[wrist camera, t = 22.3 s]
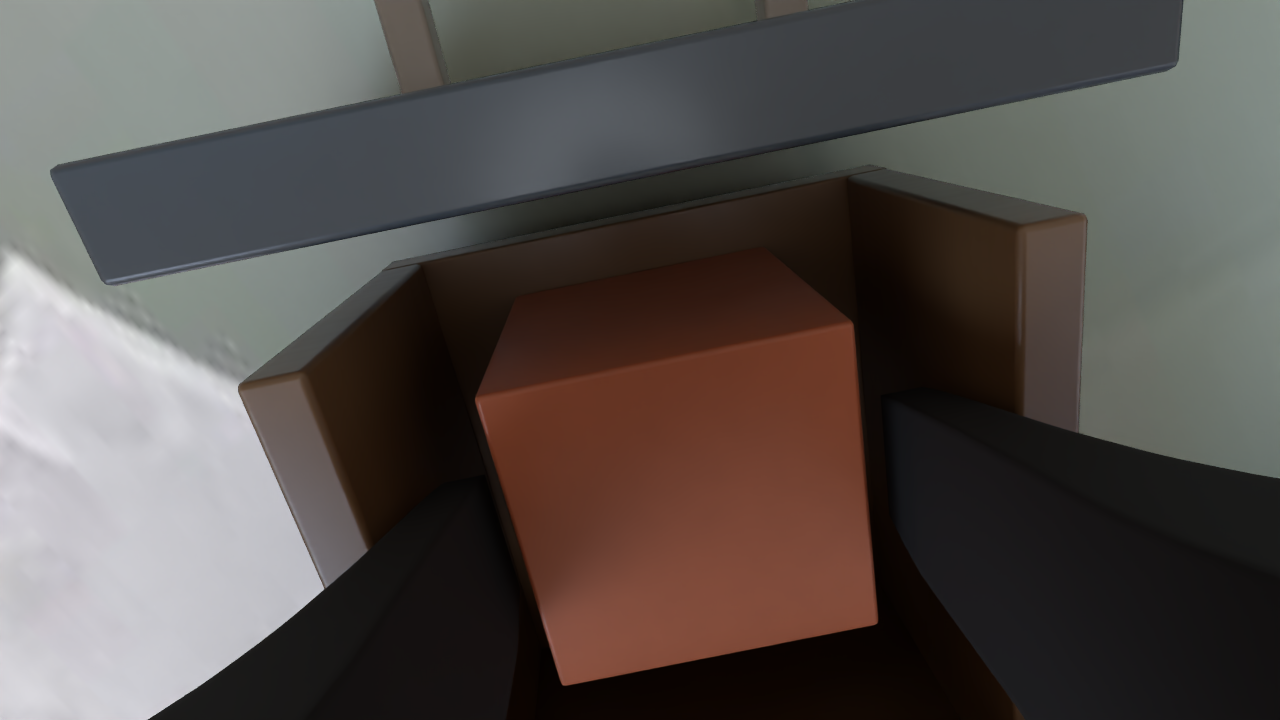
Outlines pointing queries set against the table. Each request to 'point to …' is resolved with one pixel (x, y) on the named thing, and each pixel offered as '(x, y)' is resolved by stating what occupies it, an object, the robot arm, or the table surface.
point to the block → (683, 463)
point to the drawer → (619, 152)
